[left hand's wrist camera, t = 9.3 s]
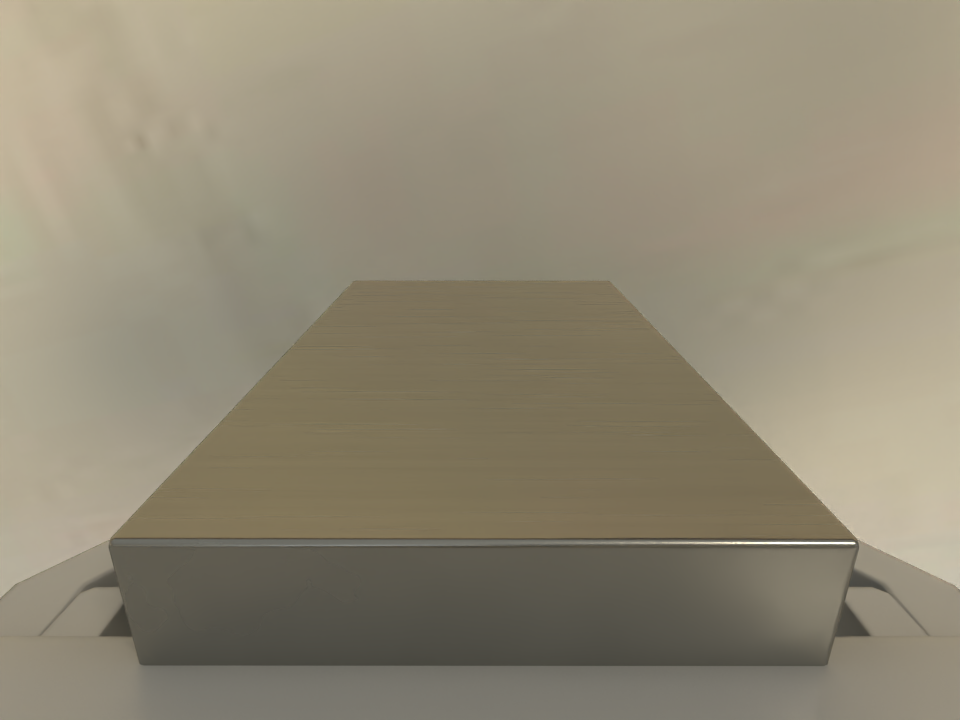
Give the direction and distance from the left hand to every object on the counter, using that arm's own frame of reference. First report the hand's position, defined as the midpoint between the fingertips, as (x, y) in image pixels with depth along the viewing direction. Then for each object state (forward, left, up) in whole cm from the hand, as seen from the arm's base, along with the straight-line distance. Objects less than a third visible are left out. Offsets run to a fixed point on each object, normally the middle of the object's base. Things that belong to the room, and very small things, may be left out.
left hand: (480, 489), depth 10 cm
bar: (+9, +1, -3) cm, 9 cm away
